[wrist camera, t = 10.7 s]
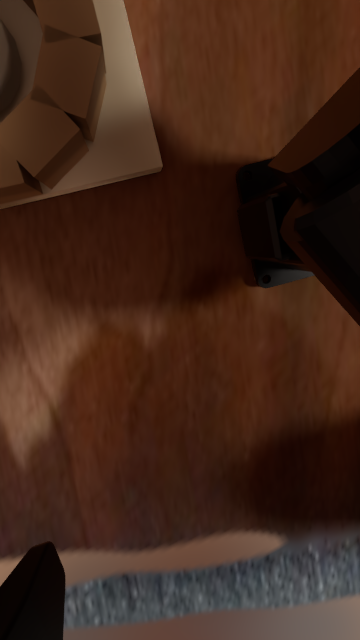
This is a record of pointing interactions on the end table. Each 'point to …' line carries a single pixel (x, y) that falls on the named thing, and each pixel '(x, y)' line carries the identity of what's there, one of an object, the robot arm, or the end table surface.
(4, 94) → the rook chess piece
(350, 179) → the robot arm
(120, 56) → the ring board
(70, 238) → the end table surface
